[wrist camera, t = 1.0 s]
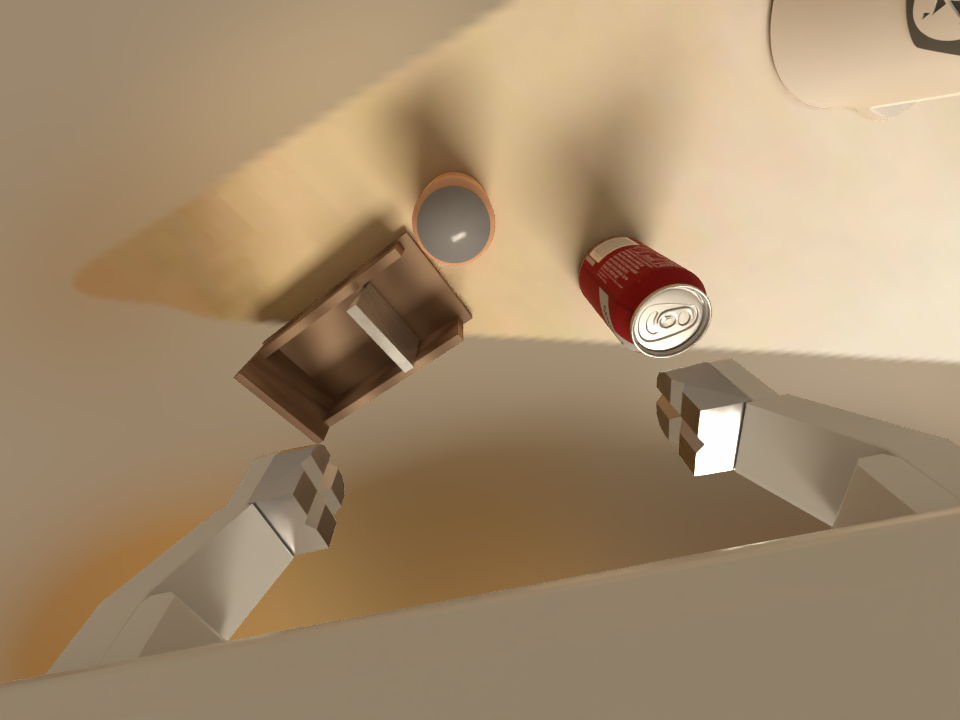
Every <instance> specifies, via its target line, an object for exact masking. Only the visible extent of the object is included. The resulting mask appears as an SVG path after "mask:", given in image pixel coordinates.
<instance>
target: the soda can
mask: <svg viewBox="0 0 960 720" xmlns="http://www.w3.org/2000/svg"><path fill="white" fill-rule="evenodd" d="M579 286H580V289H581V291H582V293H583V295H584V296H585V298H586V299H587V300H588V301H589V303H590V304H591V305H592V306H593V308H594V309H595V310H596V312H597V313H598V314H599V315H600V317H601V318H602V319H603V320H604V322H605V323H606V324H607V326H608V327H609V328H610V329H611V331H612V332H613V333H614V334H615V336H616V337H617V338H618V339H619V341H620V342H621V343H622V344H623V345H624V346H626V347H627V348H629V349H631V350H633V351H635V352H639V353H644V354H646V355H648V356H651V357H656V358H666V357H671V356H675V355H678V354H680V353H682V352H684V351H686V350H688V349H689V348H691V347H692V346H694V345H695V344H696V343H697V342H698V341H699V340H700V339H701V338H702V336H703V335H704V334H705V332H706V330H707V328H708V326H709V324H710V321H711V316H712V308H711V303H710V301H709V299H708V297H707V296H706V291H705V288H704V285H703V284H702V282H701V281H700V279H699V278H698V277H697V276H696V275H695V274H693V273H692V272H690V271H688V270H687V269H685V268H683V267H682V266H680V265H678V264H676V263H675V262H673V261H671V260H670V259H668V258H666V257H664V256H663V255H661V254H659V253H658V252H656V251H654V250H653V249H651V248H649V247H647V246H646V245H644V244H642V243H641V242H639V241H637V240H635V239H633V238H630V237H625V236H618V237H612V238H609V239H606V240H604V241H602V242H600V243H598V244H597V245H596V246H594V247H593V248H592V249H591V250H590V251H589V252H588V254H587V255H586V256H585V258H584V260H583V262H582V264H581V266H580V270H579Z"/></svg>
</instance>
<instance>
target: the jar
mask: <svg viewBox="0 0 960 720" xmlns="http://www.w3.org/2000/svg"><path fill="white" fill-rule="evenodd" d="M412 226H413V232H414V235H415V238H416V240H417V242H418V244H419V246H420V247H421V249H422V250H423V251H424V252H425V253H426V254H427V255H428V256H429V257H431V258H432V259H433V260H435V261H437V262H439V263H442V264H446V265H453V266H455V265H464V264H467V263H470V262H472V261H474V260H476V259H477V258H479V257H480V256H481V255H482V254H483V253H484V252H485V251H486V250H487V248H488V247H489V245H490V243H491V241H492V239H493V236H494V232H495V215H494V211H493V208H492V206H491V203H490V201H489V199H488V197H487V195H486V193H485V191H484V189H483V188H482V186H481V185H480V184H479V183H478V182H477V181H476V180H475V179H474V178H472V177H471V176H469V175H467V174H464V173H461V172H447V173H443V174H441V175H439V176H437V177H435V178H434V179H433V180H432V181H430V182H429V184H428V185H427V186H426V188H425V189H424V191H423V192H422V194H421V196H420V197H419V199H418V200H417V202H416V205H415V207H414V211H413V216H412Z"/></svg>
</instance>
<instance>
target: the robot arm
mask: <svg viewBox="0 0 960 720" xmlns="http://www.w3.org/2000/svg"><path fill="white" fill-rule="evenodd" d="M770 37H771V50H772V56H773V60H774V64H775V67H776V70H777V73H778V75H779V77H780V79H781V81H782V82H783V84H784V85H785V87H786V88H787V89H788V90H789V92H790V93H791V94H793V95H794V96H795V97H796V98H797V99H799V100H800V101H802V102H804V103H806V104H809V105H811V106H815V107H820V108H850V109H855V110H856V111H858V112H859V113H861V114H862V115H864V116H865V117H867V118H869V119H871V120H875V121H882V120H888V119H893V118H896V117H898V116H900V115H901V114H902V113H904V112H905V111H906V110H908V109H909V108H910V107H911V106H913V105H914V104H915V103H916V102H918V101H924V100H930V99H937V98H943V97H949V96H955V95H960V0H774V2H773V7H772V15H771V28H770ZM657 388H658V389H659V391H660V392H661V393H662V396H661V397H660V398H659V400H658V401H657V402H656V403H657V404H656V408H657V417H658V421H659V425H660V427H661V429H662V431H663V433H664V435H665V436H666V438H667V439H668V440H669V441H671V442H673V443H675V444H677V445H679V456H680V457H681V458H682V460H683V461H684V462H685V464H686V465H687V467H688V468H689V469H690V471H691V472H692V473H693V475H694V476H698V475H705V474H711V473H716V472H722V471H728V470H734V469H735V472H737V473H739V474H740V475H742V476H744V477H746V478H748V479H749V480H751V481H753V482H755V483H756V484H758V485H760V486H761V487H764V488H765V489H767V490H769V491H770V492H772V493H774V494H776V495H777V496H779V497H781V498H783V499H785V500H786V501H788V502H790V503H791V504H793V505H795V506H797V507H798V508H800V509H802V510H804V511H805V512H807V513H809V514H811V515H813V516H814V517H816V518H818V519H819V520H821V521H823V522H825V523H827V524H828V525H830V526H832V529H830V530H825V531H820V532H815V533H809V534H803V535H798V536H793V537H788V538H782V539H777V540H772V541H766V542H760V543H755V544H750V545H744V546H738V547H733V548H728V549H722V550H717V551H711V552H706V553H701V554H695V555H691V556H685V557H679V558H674V559H669V560H663V561H658V562H653V563H647V564H642V565H637V566H631V567H626V568H620V569H615V570H610V571H604V572H599V573H594V574H589V575H583V576H578V577H572V578H567V579H562V580H556V581H550V582H545V583H540V584H534V585H529V586H524V587H518V588H513V589H507V590H502V591H496V592H491V593H485V594H480V595H475V596H470V597H465V598H459V599H453V600H448V601H442V602H437V603H431V604H426V605H421V606H415V607H410V608H404V609H399V610H393V611H388V612H382V613H377V614H372V615H366V616H361V617H355V618H350V619H345V620H339V621H334V622H329V623H323V624H318V625H313V626H307V627H302V628H296V629H291V630H285V631H280V632H274V633H269V634H264V635H258V636H253V637H247V638H243V639H237V640H231V641H228V639H229V638H230V637H231V636H232V634H233V633H234V632H235V631H236V629H237V628H238V627H239V626H240V624H241V623H242V622H243V621H244V619H245V618H246V617H247V616H248V614H249V613H250V612H251V611H252V609H253V608H254V607H255V606H256V604H257V603H258V602H259V601H260V599H261V598H262V597H263V595H264V594H265V593H266V592H267V591H268V589H269V588H270V587H271V585H272V584H273V583H274V582H275V580H276V579H277V578H278V577H279V576H280V574H281V573H282V572H283V570H284V569H285V568H286V567H287V565H288V564H289V563H290V562H291V560H292V559H293V556H295V555H299V554H303V553H308V552H312V551H316V550H321V549H325V548H329V546H330V542H331V539H332V536H333V533H334V529H335V526H336V520H335V519H334V517H333V515H334V514H335V513H336V512H337V511H338V510H339V508H341V506H342V503H343V499H344V482H343V478H342V475H341V473H340V471H339V469H338V468H336V467H335V466H333V465H331V464H329V463H328V462H329V459H330V454H329V452H328V450H327V449H326V447H325V445H322V444H315V445H309V446H304V447H299V448H293V449H288V450H283V451H280V452H273V453H269V454H263V455H261V456H259V457H257V458H256V459H255V460H254V462H253V463H252V465H251V467H250V468H249V470H248V471H247V473H246V474H245V476H244V478H243V479H242V481H241V482H240V484H239V486H238V487H237V489H236V490H235V492H234V493H233V495H232V497H231V498H230V500H229V501H228V503H227V505H226V506H225V508H224V509H223V510H219V511H216V512H215V513H214V514H212V515H211V516H210V517H208V518H207V519H206V520H205V521H204V522H202V523H201V524H200V525H198V526H197V527H196V528H195V529H193V530H192V531H191V532H190V533H188V534H187V535H186V536H184V537H183V538H182V539H181V540H179V541H178V542H177V543H176V544H175V545H173V546H172V547H171V548H169V549H168V550H167V551H166V552H164V553H163V554H162V555H160V556H159V557H158V558H157V559H155V560H154V561H153V562H152V563H150V564H149V565H148V566H147V567H145V568H144V569H143V570H142V571H140V572H139V573H138V574H137V575H135V576H134V577H133V578H132V579H130V580H129V581H128V582H126V583H125V584H124V585H123V586H121V587H120V588H119V589H118V590H116V591H115V592H114V593H112V594H111V595H110V596H109V597H108V598H106V599H105V600H104V601H102V602H101V603H100V604H99V605H98V607H97V608H96V609H95V611H94V612H93V613H92V614H91V616H90V617H89V619H88V620H87V621H86V622H85V624H84V625H83V626H82V628H81V629H80V630H79V632H78V633H77V634H76V635H75V637H74V638H73V639H72V641H71V642H70V643H69V645H68V646H67V647H66V648H65V650H64V651H63V652H62V654H61V655H60V656H59V658H58V659H57V660H56V662H55V663H54V664H53V665H52V667H51V668H50V669H49V671H48V672H47V673H46V675H42V676H37V677H32V678H26V679H21V680H16V681H10V682H4V683H0V720H960V446H958V445H957V444H955V443H953V442H952V441H950V440H948V439H945V438H941V437H938V436H934V435H931V434H927V433H923V432H920V431H916V430H913V429H909V428H906V427H902V426H898V425H895V424H891V423H888V422H884V421H881V420H877V419H874V418H870V417H866V416H863V415H860V414H856V413H852V412H849V411H845V410H842V409H838V408H835V407H831V406H828V405H824V404H820V403H817V402H813V401H810V400H806V399H802V398H799V397H796V396H792V395H789V394H786V395H781V396H780V395H778V394H777V393H776V392H775V391H773V390H772V389H771V388H769V387H768V386H767V385H766V384H764V383H763V382H762V381H760V380H759V379H758V378H756V377H755V376H754V375H752V374H751V373H750V372H749V371H747V370H746V369H745V368H743V367H742V366H741V365H740V364H738V363H737V362H736V361H734V360H733V359H732V358H728V357H722V358H719V359H714V360H710V361H706V362H703V363H700V364H696V365H691V366H686V367H682V368H677V369H672V370H668V371H663V372H659V374H658V377H657Z"/></svg>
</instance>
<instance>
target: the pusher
mask: <svg viewBox="0 0 960 720" xmlns="http://www.w3.org/2000/svg"><path fill="white" fill-rule="evenodd" d="M346 312H347V313H348V314H349V315H350V316H351V317H352V318H353V319H354V320H355V321H356V322H357V323H358V324H359V325H360V326H361V327H362V328H363V329H364V330H365V331H366V333H367V334H368V335H369V336H370V337H371V338H372V339H373V340H374V341H375V342H376V343H377V344H378V345H379V346H380V347H381V348H382V349H383V350H384V351H385V352H386V353H387V354H388V356H389V357H390V358H391V359H392V360H393V361H394V362H395V363H396V364H397V365H398V366H399V367H400V368H401V369H402V370H403V371H404V372H405V373H406V372H407V371H409V370H410V369H412V368H413V367H414V364H415V359H416V354H417V349H418V344H419V337H418V336H417V335H416V334H415V333H414V332H413V331H412V330H411V328H410V327H409V326H408V325H407V324H406V323H405V322H404V320H403V319H402V318H401V317H400V316H399V315H398V314H397V313H396V311H395V310H394V309H393V308H392V307H391V306H390V305H389V303H388V302H387V301H386V300H385V299H384V298H383V297H382V296H381V294H380V293H379V292H378V291H377V290H376V289H375V288H374V286H373V285H372V284H371V283H370V282H369V283H367V284H366V285H365V286H363V287H362V288H361V289H360V291H359V293H358V294H357V296H356V297H355V299H354V300H353V302H352V304H351V305H350V307H349V308H348V310H347V311H346Z"/></svg>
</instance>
